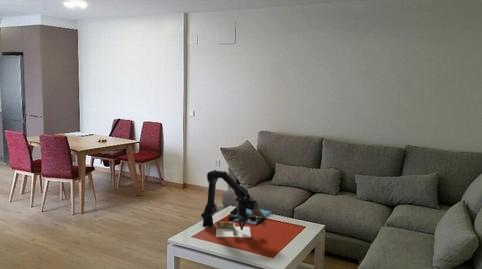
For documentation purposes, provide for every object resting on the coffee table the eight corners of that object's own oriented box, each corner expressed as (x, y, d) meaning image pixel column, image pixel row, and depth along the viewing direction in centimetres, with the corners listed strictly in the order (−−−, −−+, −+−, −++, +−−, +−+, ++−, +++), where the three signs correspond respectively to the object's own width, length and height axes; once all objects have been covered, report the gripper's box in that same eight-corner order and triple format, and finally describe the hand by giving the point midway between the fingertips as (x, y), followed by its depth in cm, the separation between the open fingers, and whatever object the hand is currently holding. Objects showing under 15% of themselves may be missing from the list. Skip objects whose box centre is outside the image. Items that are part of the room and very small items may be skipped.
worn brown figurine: (249, 221, 288) (244, 198, 286) (249, 218, 294) (245, 196, 291) (264, 219, 287) (260, 196, 285) (264, 216, 293) (260, 193, 290)
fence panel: (233, 228, 266) (233, 222, 265) (234, 228, 266) (234, 222, 265) (233, 234, 256) (233, 228, 255) (234, 234, 256) (235, 228, 256)
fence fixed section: (217, 229, 266) (217, 222, 265) (217, 228, 267) (217, 221, 266) (234, 229, 266) (234, 222, 266) (234, 228, 267) (234, 221, 267)
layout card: (216, 237, 253) (216, 236, 253) (216, 226, 270) (216, 226, 270) (251, 237, 254) (251, 236, 254) (249, 227, 271) (249, 226, 271)
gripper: (228, 211, 249) (227, 234, 251) (257, 212, 250) (256, 235, 252) (228, 206, 260) (227, 228, 262) (255, 206, 261) (255, 228, 263)
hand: (241, 230), depth 260 cm, fingers closed
